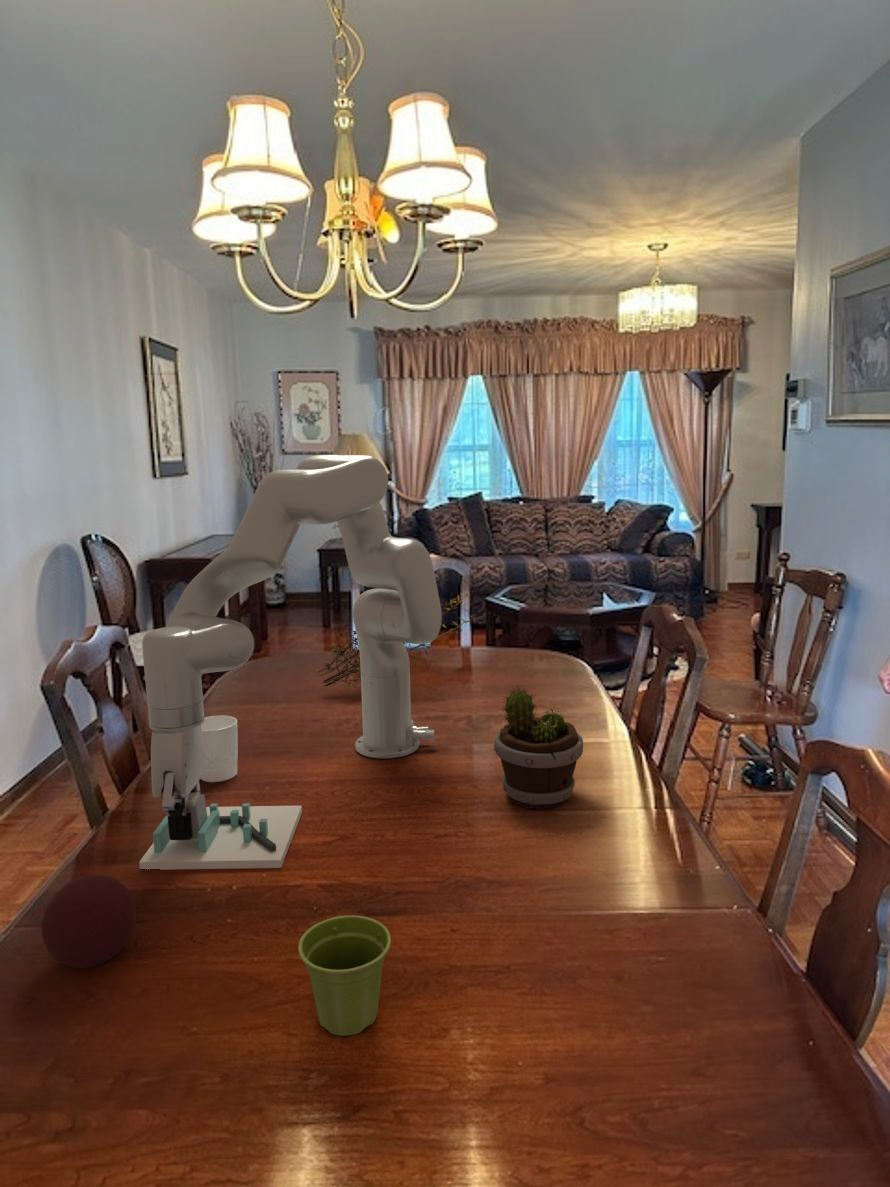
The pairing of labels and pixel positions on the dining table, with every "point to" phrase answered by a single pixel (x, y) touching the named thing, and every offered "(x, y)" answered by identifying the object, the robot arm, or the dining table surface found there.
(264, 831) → the clips
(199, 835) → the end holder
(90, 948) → the decorative ball
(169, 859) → the board
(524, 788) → the flowerpot
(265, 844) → the cable
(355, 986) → the plant pot
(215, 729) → the white cup
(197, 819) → the block
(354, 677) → the dried plant
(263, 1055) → the dining table surface
